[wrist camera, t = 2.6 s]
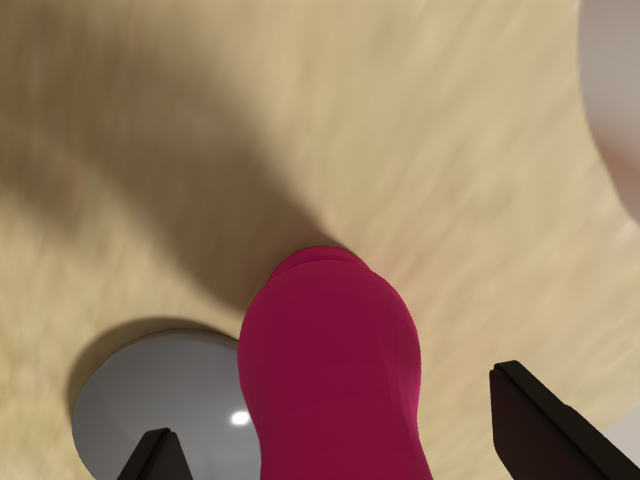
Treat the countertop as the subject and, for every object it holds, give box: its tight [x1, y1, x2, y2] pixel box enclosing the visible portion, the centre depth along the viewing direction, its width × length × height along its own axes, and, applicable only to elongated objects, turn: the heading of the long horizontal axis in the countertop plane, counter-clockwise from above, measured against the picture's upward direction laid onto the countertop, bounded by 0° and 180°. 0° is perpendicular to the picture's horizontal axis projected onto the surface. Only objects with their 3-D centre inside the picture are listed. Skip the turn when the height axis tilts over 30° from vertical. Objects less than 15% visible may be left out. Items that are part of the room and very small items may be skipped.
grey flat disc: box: [72, 329, 261, 480], centre depth 17 cm, size 12×12×3 cm
